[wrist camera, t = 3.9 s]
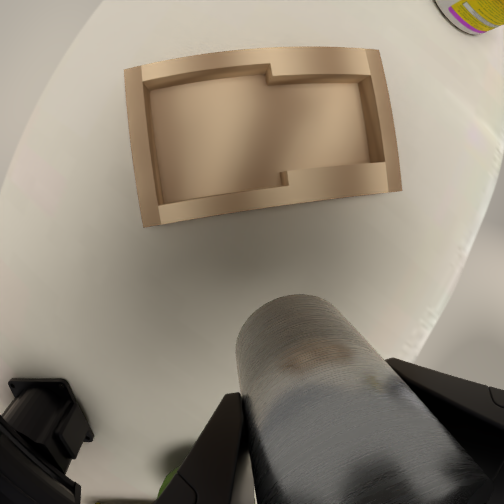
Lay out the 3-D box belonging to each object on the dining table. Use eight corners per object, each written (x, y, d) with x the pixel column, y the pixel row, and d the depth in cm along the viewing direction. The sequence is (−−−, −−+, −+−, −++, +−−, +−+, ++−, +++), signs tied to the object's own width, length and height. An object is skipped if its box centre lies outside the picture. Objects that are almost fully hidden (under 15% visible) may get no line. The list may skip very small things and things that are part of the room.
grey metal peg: (244, 403, 11) (280, 605, 3) (226, 305, 10) (257, 548, 2) (348, 381, 11) (453, 545, 4) (346, 284, 11) (525, 437, 3)
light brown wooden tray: (152, 222, 19) (143, 227, 17) (134, 82, 17) (123, 69, 15) (382, 189, 20) (402, 191, 18) (362, 61, 18) (378, 49, 16)
